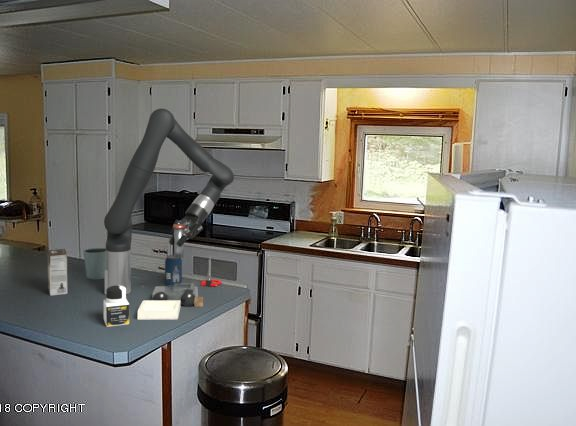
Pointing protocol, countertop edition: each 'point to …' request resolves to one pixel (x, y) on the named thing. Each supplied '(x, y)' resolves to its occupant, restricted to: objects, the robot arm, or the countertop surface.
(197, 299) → the block
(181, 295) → the trolley
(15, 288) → the countertop surface
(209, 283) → the tow hook
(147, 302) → the tray
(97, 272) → the teal cup
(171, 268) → the soda can
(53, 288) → the coffee box
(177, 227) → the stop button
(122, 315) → the medicine bottle
